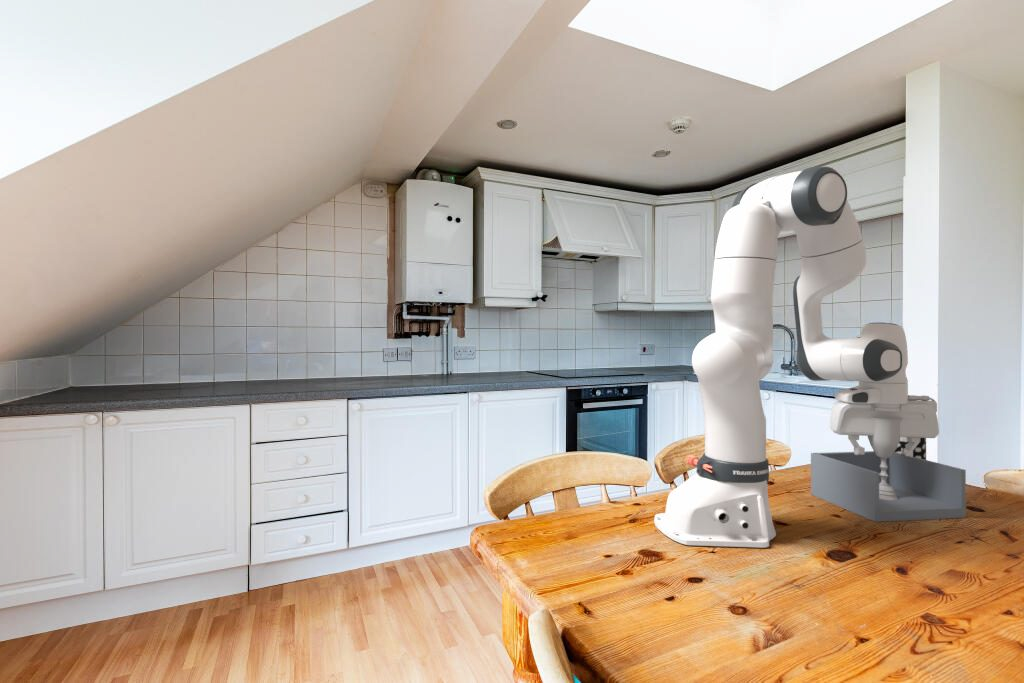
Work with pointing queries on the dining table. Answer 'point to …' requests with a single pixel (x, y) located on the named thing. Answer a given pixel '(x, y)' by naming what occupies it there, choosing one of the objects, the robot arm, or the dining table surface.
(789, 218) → the robot arm
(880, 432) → the chalice
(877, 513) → the open gray box tray
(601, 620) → the dining table surface
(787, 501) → the dining table surface
